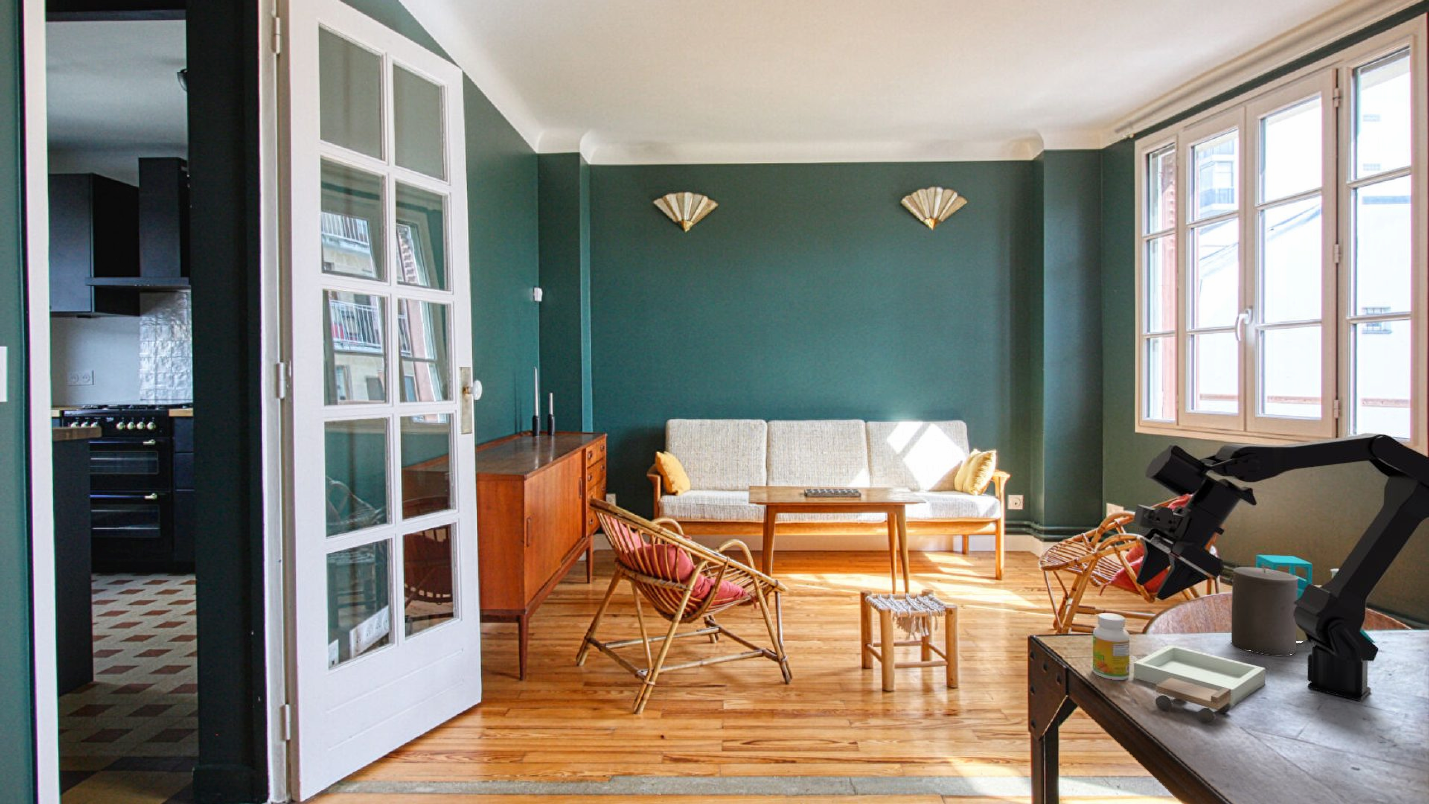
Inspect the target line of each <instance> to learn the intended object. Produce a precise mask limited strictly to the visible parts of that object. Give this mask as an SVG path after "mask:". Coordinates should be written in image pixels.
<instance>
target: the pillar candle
mask: <svg viewBox="0 0 1429 804" xmlns="http://www.w3.org/2000/svg"><path fill="white" fill-rule="evenodd" d="M1296 576H1297V575H1296ZM1296 576H1294V575H1292V574H1289V572H1284V571H1280V570H1277V571H1276V570H1272V568H1265V565H1262V568H1256V567H1251V566H1250V567H1249V566H1238V567H1234V569H1233V570H1232V582H1231V583H1232V589H1231V593H1232V595H1231V596H1232V597H1231V635H1230V636H1231V640H1230V642H1231V641H1232V643H1233V644H1235V645H1236V647H1238V648H1239V647H1240V649H1241V648H1242V649H1241V650H1244V651H1246V650H1251V651H1253V652H1252V653H1254V652H1258V653H1257V654H1259V653H1263V654H1262V655H1264V654H1268V655H1267V656H1272V655H1290V654H1294V653H1295V652H1296V653H1297V644H1296V631H1297V624H1296V622H1295V618H1294V616H1293V614H1294V610H1295V608H1296V606H1297V605H1295V604H1294V602H1295V601H1296V600H1297V588H1298V587H1297V586H1298V579H1299V578H1298V577H1299V576H1298V577H1296ZM1232 643H1231V644H1232ZM1233 644H1232V645H1233ZM1235 645H1234V646H1235ZM1245 649H1246V650H1245ZM1296 653H1295V654H1296ZM1295 654H1294V655H1295Z"/></svg>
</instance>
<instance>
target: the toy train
mask: <svg viewBox="0 0 1429 804" xmlns="http://www.w3.org/2000/svg"><path fill="white" fill-rule="evenodd" d="M1255 556H1256V557H1255V558H1256V559H1255V561H1256V564H1255V566H1256V567H1255V568H1263V566H1264V567H1265V566H1266V567H1268V568H1269V569H1271V570H1276V571H1278V567H1289V572H1288V574H1292V575H1294V576H1296V577H1298V578H1299V579H1298V586H1297V587H1298V588H1297V600H1298V599H1299V598H1300V597H1301V596H1302V594H1303V592H1304V589H1305V587H1306V586H1307V585H1308V584H1313V563H1312V562H1308V561H1306V560H1304V559H1301V558H1299V557H1296V556H1294V555H1269V554H1267V555H1266V554H1265V555H1264V554H1255ZM1297 567H1298V568H1301V569H1304V570H1305V571H1306V573H1305V574H1306V577H1305V578H1306V579H1304V578H1303V577H1300V576H1298V575H1296V568H1297ZM1338 570H1339V568H1332V569H1330V570H1329V572H1331V579H1332V578H1333V577H1334V576H1335V574H1336V573H1337V571H1338ZM1315 586H1317V587H1321V586H1322V585H1319V584H1318V585H1317V584H1315ZM1360 632H1361V633H1362V634H1363V635H1364V636H1365V637H1366V638H1368V639H1369V640H1370V641H1371V642H1372V643H1373V644H1375V643H1376V641H1375V640H1374V639H1372V637H1370V635H1369V634H1368V633H1367V632H1366V631H1365V630H1364V629H1363V627H1362V628H1361V630H1360ZM1296 641H1305V642H1307V641H1308V640H1307V637H1306V635H1305V632H1304V631H1303V630H1301V629H1300V628H1299V627H1298V625H1297V631H1296Z"/></svg>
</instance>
